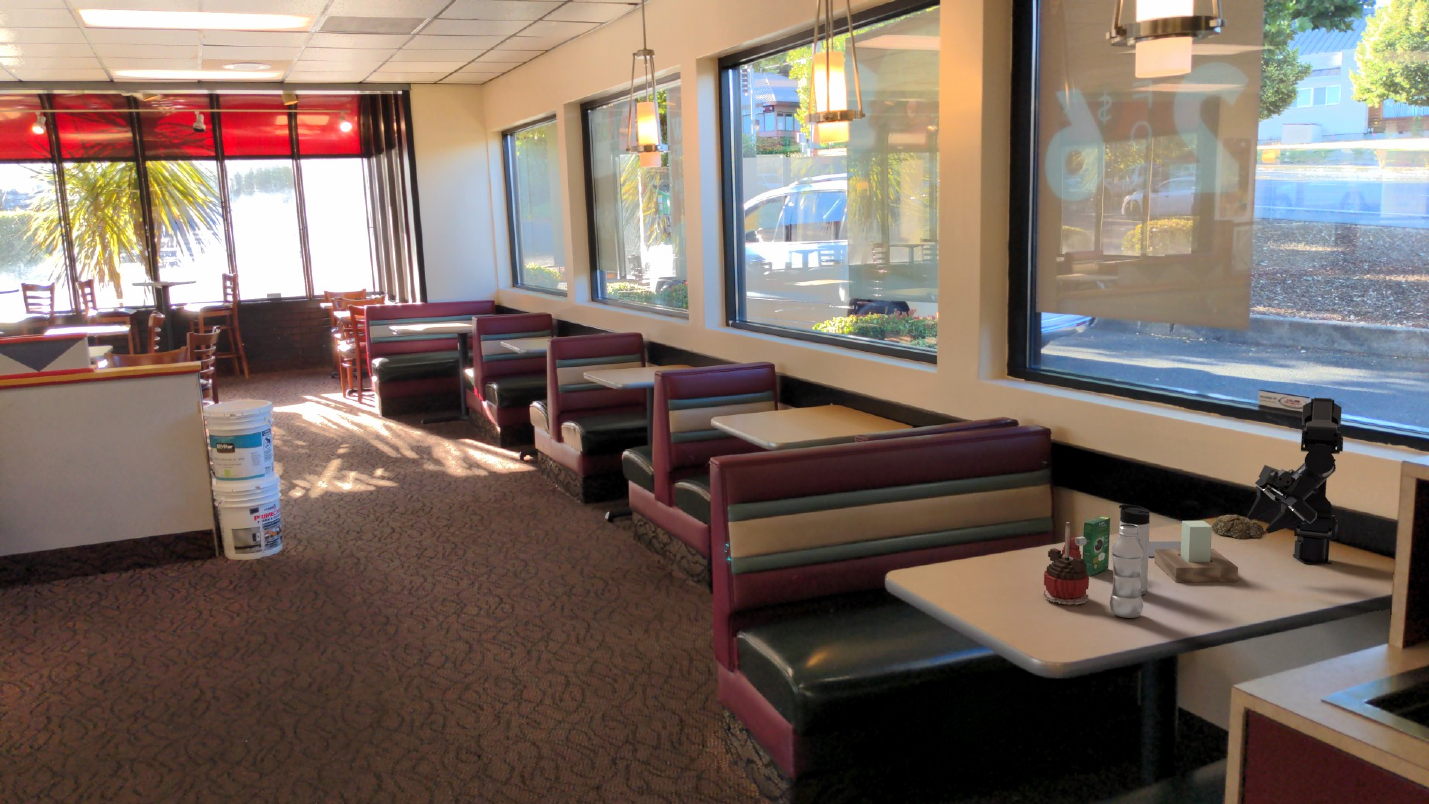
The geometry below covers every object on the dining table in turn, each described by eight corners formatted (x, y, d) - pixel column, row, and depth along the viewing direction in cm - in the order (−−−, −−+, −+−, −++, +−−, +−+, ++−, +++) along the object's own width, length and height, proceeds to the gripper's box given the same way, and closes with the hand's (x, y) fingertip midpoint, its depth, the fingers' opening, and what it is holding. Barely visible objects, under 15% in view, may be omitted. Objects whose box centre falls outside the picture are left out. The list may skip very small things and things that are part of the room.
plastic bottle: (1145, 622, 218) (1149, 531, 214) (1111, 620, 219) (1114, 530, 216) (1139, 611, 224) (1143, 522, 221) (1106, 609, 225) (1109, 521, 222)
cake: (1033, 595, 235) (1034, 519, 232) (1065, 589, 239) (1067, 514, 236) (1066, 611, 225) (1068, 531, 222) (1099, 603, 229) (1101, 525, 226)
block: (1201, 568, 249) (1203, 520, 247) (1209, 575, 245) (1212, 526, 243) (1179, 568, 250) (1182, 520, 248) (1187, 575, 245) (1190, 526, 243)
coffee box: (1098, 566, 253) (1100, 514, 251) (1109, 569, 251) (1111, 516, 249) (1080, 573, 248) (1082, 521, 246) (1091, 576, 246) (1093, 523, 244)
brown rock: (1216, 524, 286) (1217, 506, 285) (1266, 530, 279) (1267, 512, 278) (1206, 536, 276) (1207, 517, 275) (1258, 543, 268) (1259, 524, 268)
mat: (1179, 542, 269) (1179, 541, 269) (1198, 557, 258) (1198, 555, 258) (1132, 543, 270) (1132, 541, 270) (1148, 557, 258) (1148, 556, 258)
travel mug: (1123, 584, 240) (1126, 501, 237) (1151, 591, 236) (1154, 506, 232) (1111, 591, 236) (1114, 507, 233) (1139, 598, 231) (1143, 512, 228)
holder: (1212, 562, 254) (1213, 548, 253) (1237, 581, 240) (1238, 567, 239) (1154, 562, 255) (1154, 549, 254) (1175, 582, 241) (1176, 567, 240)
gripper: (1265, 443, 243) (1215, 491, 246) (1304, 465, 225) (1251, 516, 228) (1298, 473, 244) (1248, 520, 248) (1340, 497, 226) (1286, 548, 229)
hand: (1257, 525), depth 238 cm, fingers open, 9 cm apart
